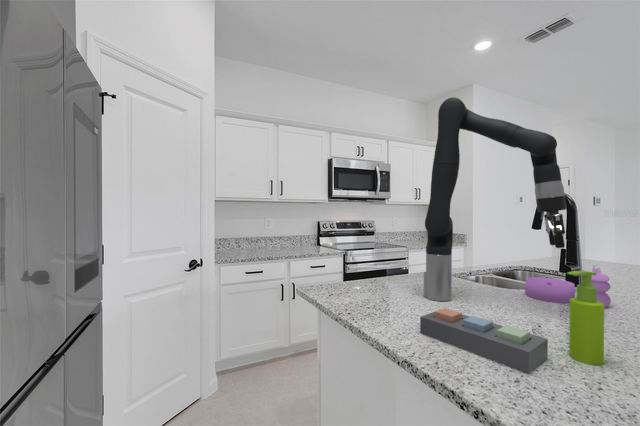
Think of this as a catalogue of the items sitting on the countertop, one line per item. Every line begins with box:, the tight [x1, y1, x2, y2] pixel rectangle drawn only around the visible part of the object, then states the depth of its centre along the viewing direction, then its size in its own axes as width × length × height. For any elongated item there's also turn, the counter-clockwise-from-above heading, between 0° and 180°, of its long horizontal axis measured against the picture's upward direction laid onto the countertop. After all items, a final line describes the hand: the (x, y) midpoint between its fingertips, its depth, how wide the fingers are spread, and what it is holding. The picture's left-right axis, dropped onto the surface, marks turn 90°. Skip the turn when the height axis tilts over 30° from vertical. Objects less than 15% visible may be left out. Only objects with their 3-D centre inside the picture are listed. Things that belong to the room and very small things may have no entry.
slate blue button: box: [463, 315, 494, 333], centre depth 76 cm, size 5×5×3 cm
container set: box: [524, 268, 612, 309], centre depth 114 cm, size 25×15×13 cm, turn 42°
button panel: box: [419, 311, 549, 375], centre depth 76 cm, size 26×11×4 cm, turn 37°
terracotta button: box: [434, 307, 463, 323], centre depth 82 cm, size 5×5×3 cm
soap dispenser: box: [566, 270, 605, 366], centre depth 69 cm, size 6×7×20 cm
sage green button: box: [497, 325, 531, 345], centre depth 70 cm, size 5×5×3 cm
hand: (557, 246), depth 97 cm, fingers open, 8 cm apart
